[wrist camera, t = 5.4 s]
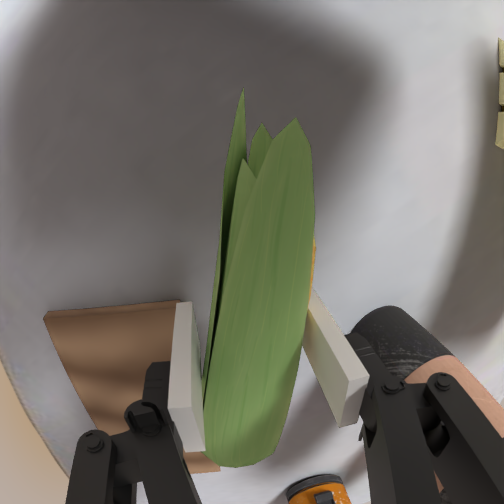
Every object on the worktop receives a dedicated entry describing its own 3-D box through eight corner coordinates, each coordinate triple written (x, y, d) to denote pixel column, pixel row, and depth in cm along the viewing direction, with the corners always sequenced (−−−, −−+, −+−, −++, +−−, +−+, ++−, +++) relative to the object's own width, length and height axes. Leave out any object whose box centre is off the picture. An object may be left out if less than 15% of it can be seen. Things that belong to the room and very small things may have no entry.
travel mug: (354, 376, 31) (445, 530, 12) (334, 329, 28) (453, 515, 9) (414, 340, 30) (524, 469, 12) (403, 288, 28) (551, 431, 9)
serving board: (48, 311, 23) (43, 318, 22) (179, 299, 24) (179, 307, 23) (129, 467, 32) (128, 474, 31) (219, 463, 33) (220, 471, 32)
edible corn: (188, 479, 15) (265, 493, 14) (216, 68, 8) (366, 90, 8) (206, 421, 20) (271, 433, 19) (241, 97, 13) (340, 111, 13)
